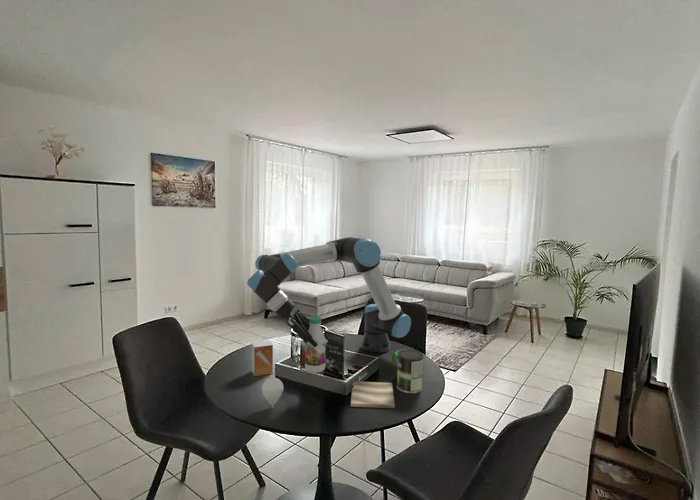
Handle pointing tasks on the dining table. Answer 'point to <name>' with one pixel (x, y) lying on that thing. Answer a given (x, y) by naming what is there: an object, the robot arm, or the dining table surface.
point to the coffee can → (409, 371)
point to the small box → (262, 358)
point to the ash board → (373, 395)
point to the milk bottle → (312, 357)
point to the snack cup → (397, 357)
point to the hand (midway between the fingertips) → (324, 347)
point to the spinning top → (272, 389)
